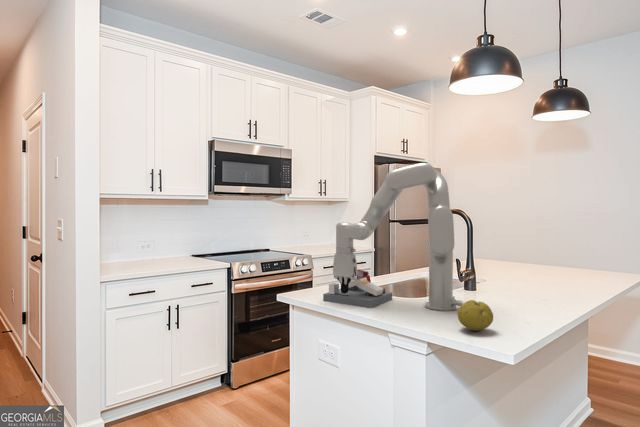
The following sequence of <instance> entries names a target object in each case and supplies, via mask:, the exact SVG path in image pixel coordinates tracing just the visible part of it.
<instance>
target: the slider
mask: <svg viewBox="0 0 640 427" xmlns="http://www.w3.org/2000/svg"><path fill="white" fill-rule="evenodd" d="M339 289H340V283H336V282H333V283H330V284H328V292H329V294H337V293H339Z"/></svg>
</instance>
